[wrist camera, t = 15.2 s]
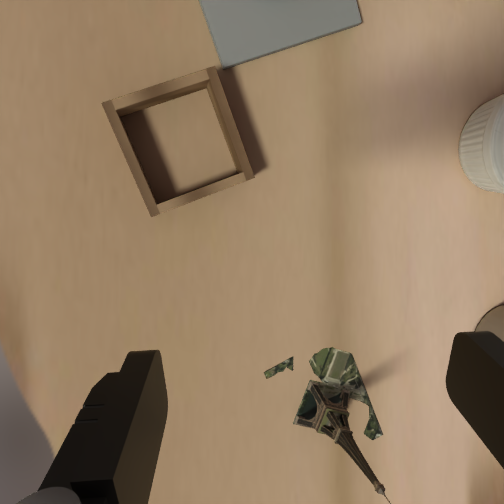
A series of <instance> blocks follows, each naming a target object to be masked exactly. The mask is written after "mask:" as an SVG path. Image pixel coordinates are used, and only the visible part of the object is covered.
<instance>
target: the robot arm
mask: <svg viewBox="0 0 504 504" xmlns="http://www.w3.org/2000/svg"><path fill="white" fill-rule="evenodd" d="M446 388H447V392H448V394H449V397H450V399H451V401H452V402H453V404H454V405H455V406H456V408H457V409H458V410H459V411H460V413H461V414H462V415H463V417H464V418H465V419H466V421H467V422H468V423H469V424H470V426H471V427H472V428H473V430H474V431H475V432H476V434H477V435H478V436H479V437H480V439H481V440H482V441H483V443H484V444H485V445H486V447H487V448H488V449H489V450H490V452H491V453H492V454H493V456H494V457H495V458H496V460H497V461H498V462H499V463H500V465H501V466H502V467H503V469H504V305H502V306H499V307H497V308H495V309H493V310H491V311H490V312H489V313H488V314H486V316H485V317H484V318H483V319H482V320H481V322H480V323H479V325H478V326H477V328H476V331H475V332H460V333H457V334H456V335H455V337H454V340H453V345H452V350H451V355H450V360H449V365H448V370H447V375H446ZM167 411H168V398H167V390H166V384H165V377H164V371H163V365H162V358H161V354H160V351H159V350H147V351H131V352H129V353H128V354H127V356H126V359H125V361H124V363H123V365H122V368H121V370H120V372H114V373H107V374H106V375H105V376H104V377H103V378H102V379H101V380H100V381H99V382H98V383H97V384H96V385H95V386H94V387H93V388H92V389H91V391H90V393H89V395H88V397H87V398H86V400H85V402H84V404H83V409H81V410H80V412H79V414H78V416H77V417H76V419H75V424H73V425H72V427H71V429H70V431H69V433H68V435H67V436H66V438H65V440H64V442H63V444H62V446H61V448H60V450H59V452H58V454H57V455H56V457H55V459H54V461H53V463H52V465H51V467H50V469H49V471H48V473H47V474H46V477H45V478H44V480H43V482H42V484H41V486H40V488H39V489H38V491H37V492H34V493H32V494H31V495H29V496H27V497H25V498H24V499H22V500H21V501H19V502H18V503H17V504H148V500H149V496H150V491H151V487H152V482H153V478H154V473H155V469H156V464H157V460H158V456H159V451H160V447H161V442H162V438H163V433H164V429H165V424H166V419H167Z"/></svg>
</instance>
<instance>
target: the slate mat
mask: <svg viewBox="0 0 504 504" xmlns="http://www.w3.org/2000/svg"><path fill="white" fill-rule="evenodd" d="M199 2H200V5H201V8H202V11H203V14H204V17H205V19H206V22H207V25H208V28H209V31H210V34H211V36H212V39H213V42H214V45H215V48H216V51H217V53H218V56H219V59H220V62H221V65H222V68H223V70H224V69H227V68H230V67H233V66H236V65H239V64H242V63H245V62H248V61H251V60H254V59H257V58H260V57H263V56H266V55H269V54H273V53H276V52H279V51H282V50H285V49H288V48H291V47H294V46H297V45H300V44H303V43H306V42H309V41H312V40H315V39H318V38H321V37H324V36H327V35H330V34H333V33H336V32H340V31H343V30H346V29H349V28H352V27H355V26H358V25H359V24H360V23H362V21H361V17H360V13H359V9H358V5H357V1H356V0H199Z"/></svg>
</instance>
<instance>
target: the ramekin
mask: <svg viewBox="0 0 504 504" xmlns="http://www.w3.org/2000/svg"><path fill="white" fill-rule="evenodd" d="M459 160H460V164H461V167H462V169H463V171H464V173H465V175H466V176H467V177H468V179H469V180H470V181H471V182H472V183H473V184H475V185H476V186H477V187H479V188H481V189H484V190H486V191H491V192H497V193H503V194H504V94H502V95H500V96H498V97H496V98H494V99H492V100H490V101H488V102H486V103H485V104H483V105H481V106H480V107H479V108H478V109H477V110H476V111H475V112H474V113H473V114H472V115H471V117H470V118H469V119H468V121H467V123H466V124H465V126H464V128H463V130H462V133H461V136H460V141H459Z"/></svg>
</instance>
